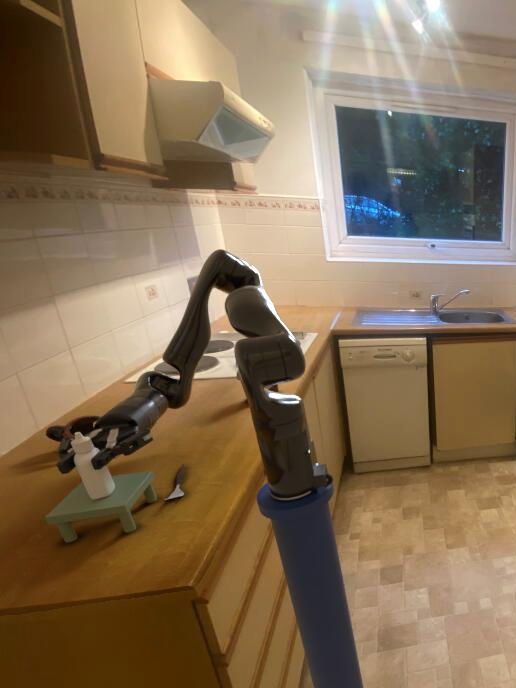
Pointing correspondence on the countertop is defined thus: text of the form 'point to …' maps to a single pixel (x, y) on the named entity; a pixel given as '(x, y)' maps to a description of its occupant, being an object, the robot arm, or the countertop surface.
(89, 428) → the pottery mug
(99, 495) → the eye dropper bottle
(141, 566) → the countertop surface
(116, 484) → the stool
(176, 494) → the fork
